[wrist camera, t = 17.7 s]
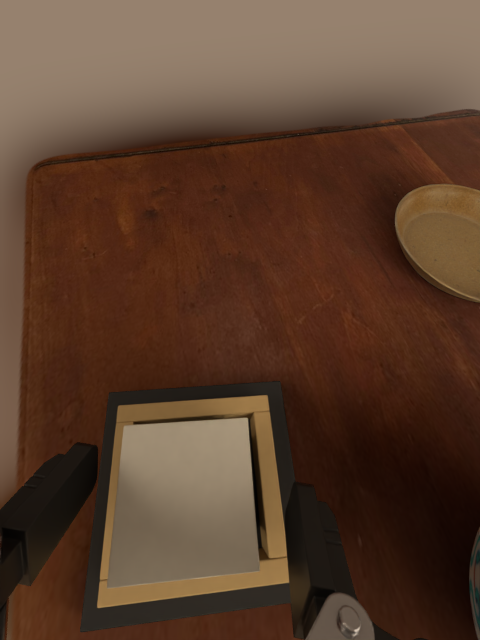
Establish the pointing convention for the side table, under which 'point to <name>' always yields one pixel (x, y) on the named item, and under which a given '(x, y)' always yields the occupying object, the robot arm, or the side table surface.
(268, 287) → the side table surface
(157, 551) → the block
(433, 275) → the plant saucer
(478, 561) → the chinaware
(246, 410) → the wooden socket on base
